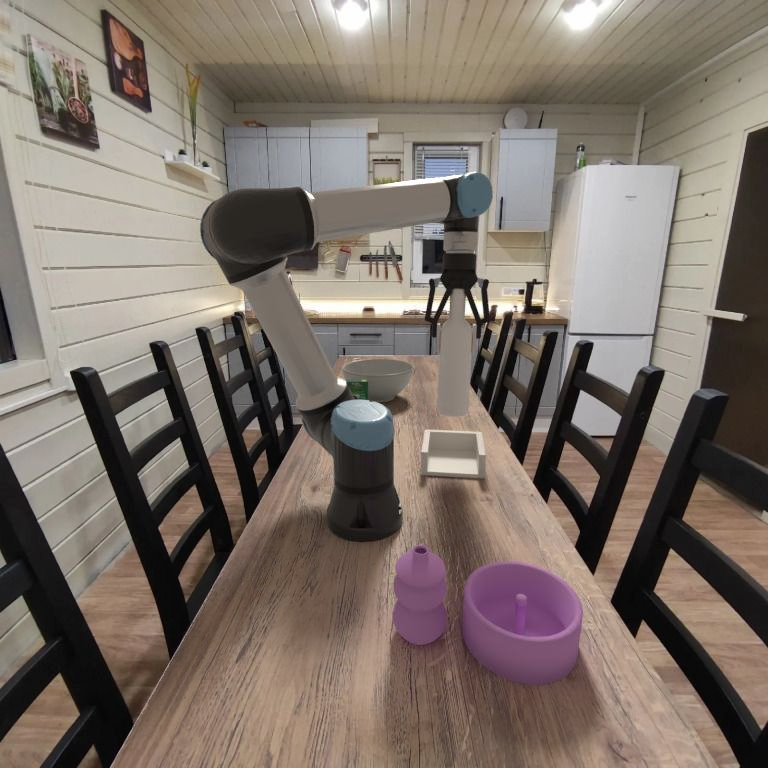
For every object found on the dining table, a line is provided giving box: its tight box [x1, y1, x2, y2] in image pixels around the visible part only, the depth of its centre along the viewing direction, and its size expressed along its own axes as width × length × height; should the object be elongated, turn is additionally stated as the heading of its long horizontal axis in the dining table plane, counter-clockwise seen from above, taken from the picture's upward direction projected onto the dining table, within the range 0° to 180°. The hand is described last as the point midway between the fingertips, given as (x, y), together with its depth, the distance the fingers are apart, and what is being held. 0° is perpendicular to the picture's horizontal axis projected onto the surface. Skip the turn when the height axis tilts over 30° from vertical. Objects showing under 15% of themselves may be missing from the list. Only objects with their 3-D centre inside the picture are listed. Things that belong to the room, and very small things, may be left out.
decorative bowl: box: [341, 358, 415, 403], centre depth 171 cm, size 27×27×12 cm
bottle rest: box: [420, 429, 486, 480], centre depth 116 cm, size 15×15×6 cm
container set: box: [392, 544, 584, 686], centre depth 62 cm, size 25×15×13 cm, turn 86°
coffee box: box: [346, 380, 368, 400], centre depth 148 cm, size 8×3×13 cm, turn 99°
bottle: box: [436, 289, 473, 417], centre depth 110 cm, size 8×8×30 cm
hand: (455, 351), depth 110 cm, fingers closed on bottle, 8 cm apart
